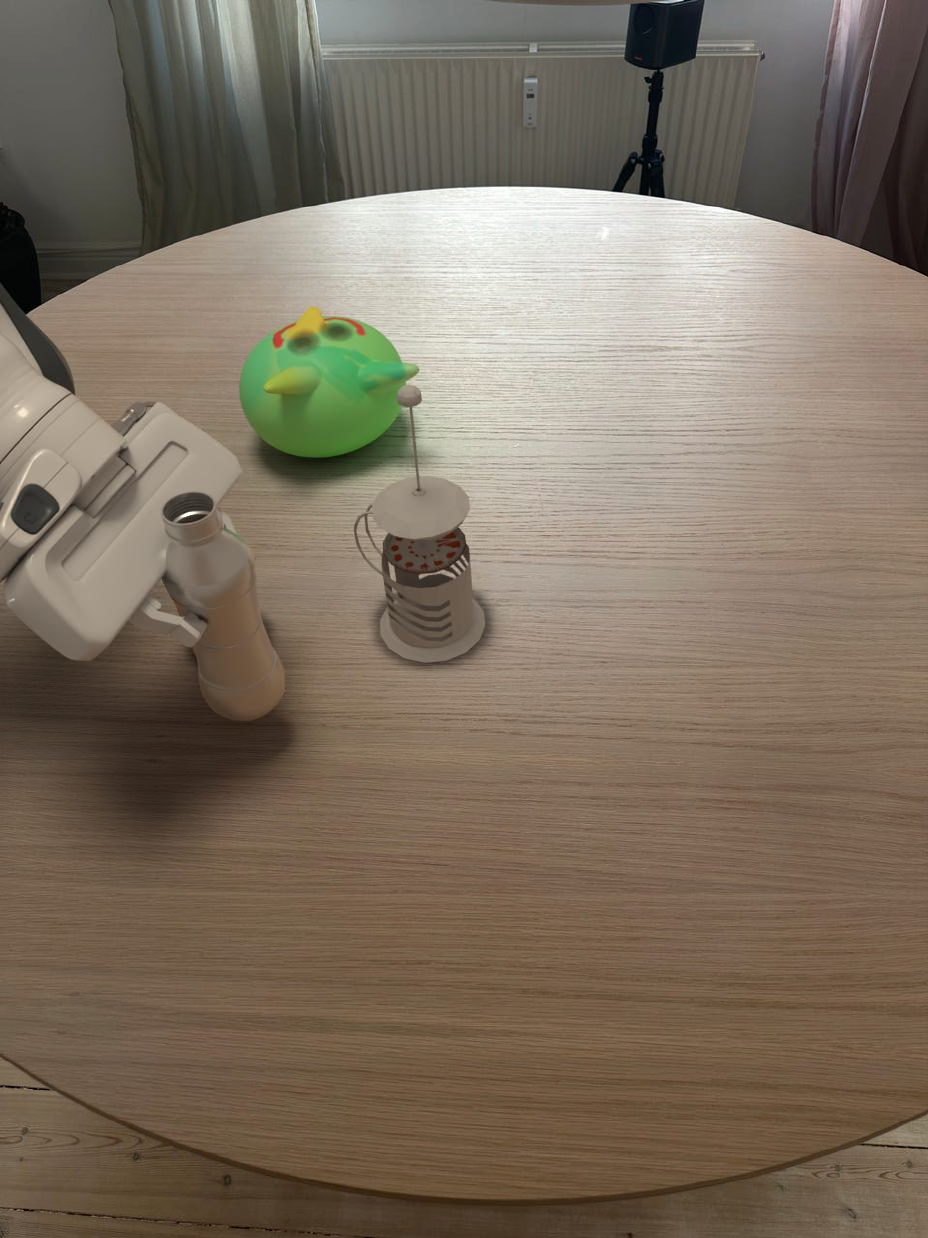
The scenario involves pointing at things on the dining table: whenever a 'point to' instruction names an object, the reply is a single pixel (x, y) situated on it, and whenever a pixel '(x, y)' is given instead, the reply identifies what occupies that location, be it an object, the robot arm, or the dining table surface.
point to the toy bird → (322, 385)
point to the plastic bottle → (221, 608)
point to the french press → (424, 563)
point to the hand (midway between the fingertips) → (224, 602)
